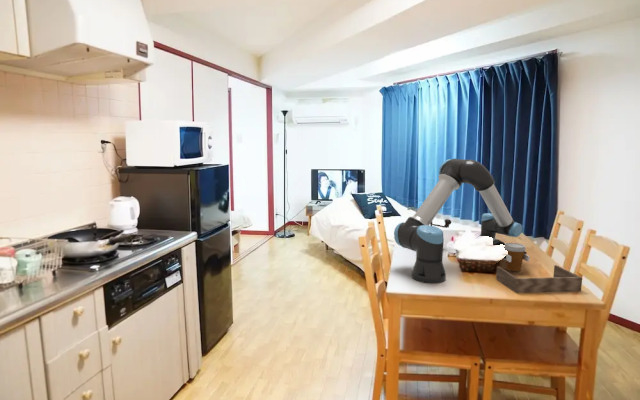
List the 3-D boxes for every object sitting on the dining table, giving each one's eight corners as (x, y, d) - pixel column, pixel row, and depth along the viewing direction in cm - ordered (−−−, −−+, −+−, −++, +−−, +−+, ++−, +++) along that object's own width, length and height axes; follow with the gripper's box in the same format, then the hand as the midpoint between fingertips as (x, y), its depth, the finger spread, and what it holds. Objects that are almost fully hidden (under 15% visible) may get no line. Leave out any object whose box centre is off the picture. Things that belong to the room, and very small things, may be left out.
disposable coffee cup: (498, 267, 200) (499, 243, 198) (512, 265, 204) (514, 241, 202) (514, 273, 192) (516, 248, 190) (528, 270, 195) (530, 246, 193)
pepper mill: (425, 251, 233) (426, 220, 230) (418, 246, 244) (419, 216, 241) (451, 250, 234) (452, 219, 232) (443, 245, 245) (444, 216, 243)
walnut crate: (515, 293, 169) (516, 279, 168) (496, 279, 186) (496, 266, 185) (580, 291, 171) (582, 277, 170) (555, 277, 188) (556, 265, 187)
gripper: (515, 253, 216) (540, 266, 193) (476, 253, 214) (497, 267, 192) (516, 239, 215) (541, 251, 192) (477, 239, 213) (498, 251, 191)
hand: (519, 259), depth 192 cm, fingers closed on disposable coffee cup, 8 cm apart
